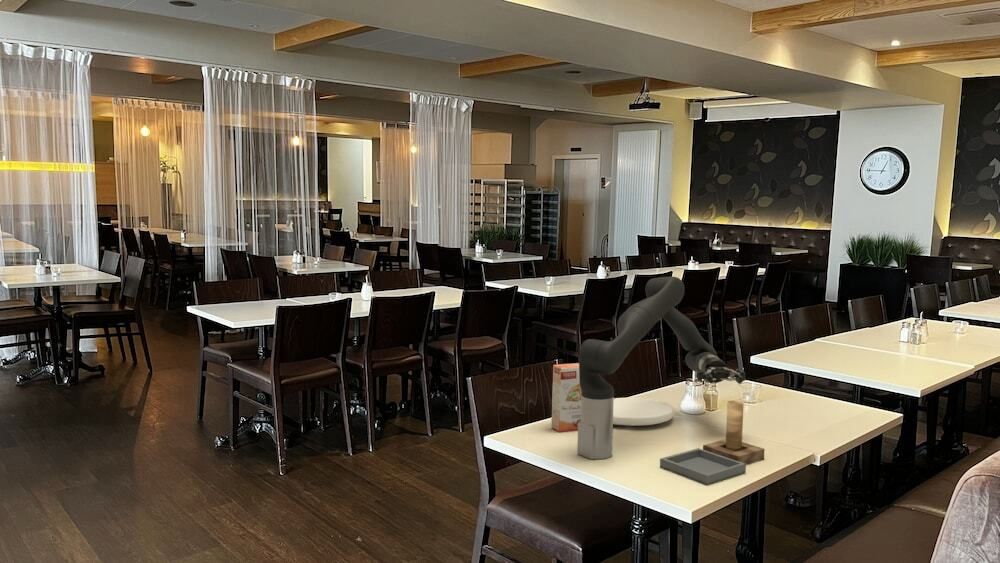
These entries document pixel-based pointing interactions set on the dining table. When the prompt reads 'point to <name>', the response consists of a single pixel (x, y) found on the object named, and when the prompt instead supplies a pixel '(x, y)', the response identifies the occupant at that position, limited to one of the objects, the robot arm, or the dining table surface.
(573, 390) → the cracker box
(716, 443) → the socket block
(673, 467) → the tray
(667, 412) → the plate
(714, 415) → the dining table surface
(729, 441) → the dowel
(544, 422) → the dining table surface
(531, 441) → the dining table surface
